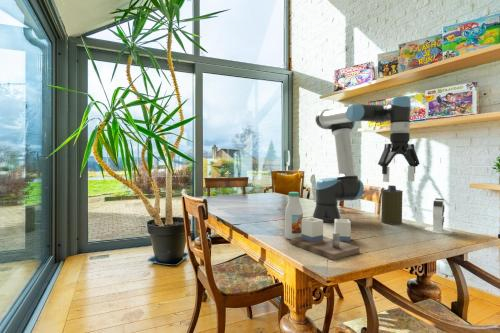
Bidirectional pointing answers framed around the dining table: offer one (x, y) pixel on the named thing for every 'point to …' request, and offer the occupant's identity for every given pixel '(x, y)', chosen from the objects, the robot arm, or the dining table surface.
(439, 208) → the light grey upright piece
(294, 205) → the milk bottle
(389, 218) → the canister
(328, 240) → the pin board
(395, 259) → the dining table surface
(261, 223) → the dining table surface
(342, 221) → the white sleeve
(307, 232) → the seated sleeve
